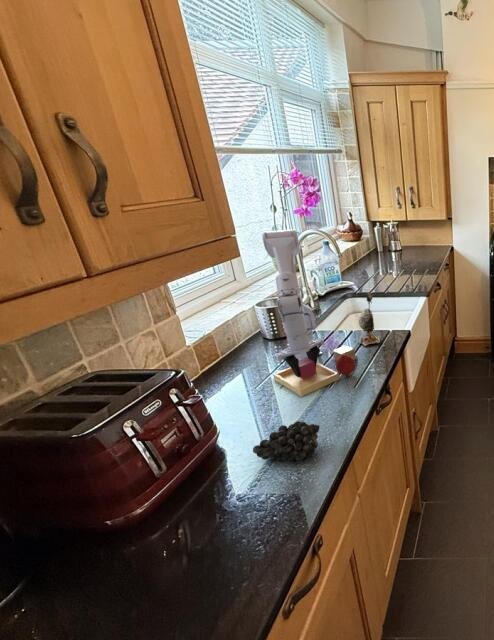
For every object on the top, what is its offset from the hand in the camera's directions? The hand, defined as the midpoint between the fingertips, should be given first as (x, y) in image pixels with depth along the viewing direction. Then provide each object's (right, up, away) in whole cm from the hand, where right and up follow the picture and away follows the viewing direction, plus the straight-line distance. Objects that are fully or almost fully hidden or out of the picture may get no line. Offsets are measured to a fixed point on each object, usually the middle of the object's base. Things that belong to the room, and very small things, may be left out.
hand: (305, 373), depth 126 cm
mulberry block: (0, -1, 0) cm, 1 cm away
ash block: (+8, +3, +13) cm, 15 cm away
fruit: (+12, -15, -32) cm, 37 cm away
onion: (+12, -1, +3) cm, 12 cm away
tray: (0, -2, +1) cm, 2 cm away
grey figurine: (+11, +8, +28) cm, 31 cm away
